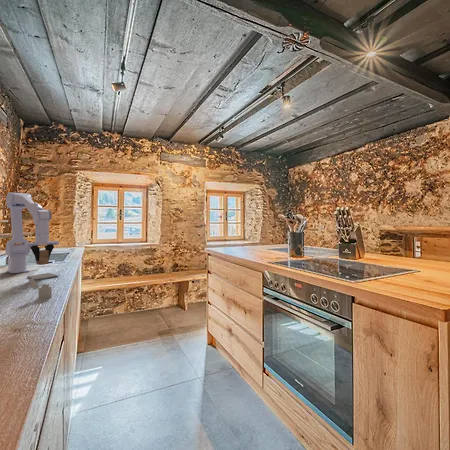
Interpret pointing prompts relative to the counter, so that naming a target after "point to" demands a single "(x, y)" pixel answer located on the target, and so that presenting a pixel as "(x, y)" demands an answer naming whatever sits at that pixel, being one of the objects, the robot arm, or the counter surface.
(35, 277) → the slate tile
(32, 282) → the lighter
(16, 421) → the counter surface
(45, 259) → the walnut block
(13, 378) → the counter surface
